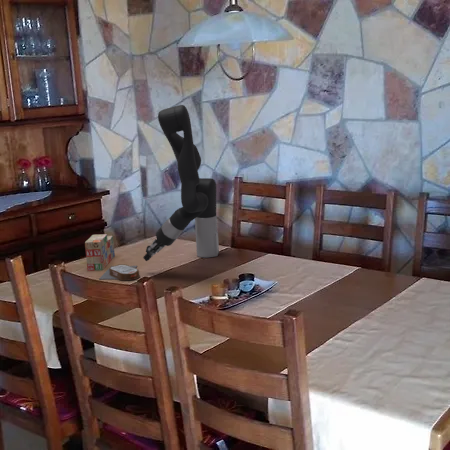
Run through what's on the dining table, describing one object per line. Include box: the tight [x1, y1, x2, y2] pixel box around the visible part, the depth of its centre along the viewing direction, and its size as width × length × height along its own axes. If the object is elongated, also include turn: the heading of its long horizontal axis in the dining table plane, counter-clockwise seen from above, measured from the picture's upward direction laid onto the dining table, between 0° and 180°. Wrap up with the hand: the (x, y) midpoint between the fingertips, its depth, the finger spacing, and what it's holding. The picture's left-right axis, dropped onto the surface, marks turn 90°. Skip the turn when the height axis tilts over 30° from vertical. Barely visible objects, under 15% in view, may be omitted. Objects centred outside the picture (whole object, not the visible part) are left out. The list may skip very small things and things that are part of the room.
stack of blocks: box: [84, 233, 116, 272], centre depth 266 cm, size 21×6×12 cm, turn 176°
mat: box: [98, 265, 138, 281], centre depth 252 cm, size 11×17×1 cm, turn 174°
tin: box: [108, 264, 140, 281], centre depth 247 cm, size 15×3×8 cm
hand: (145, 259), depth 249 cm, fingers closed
